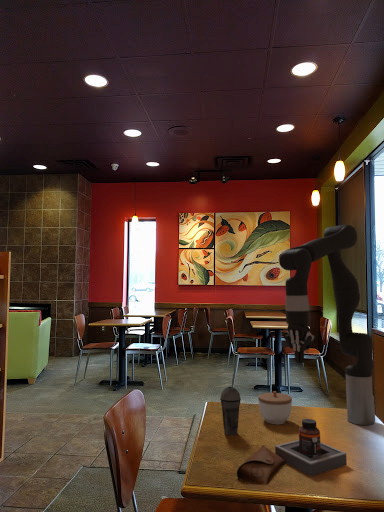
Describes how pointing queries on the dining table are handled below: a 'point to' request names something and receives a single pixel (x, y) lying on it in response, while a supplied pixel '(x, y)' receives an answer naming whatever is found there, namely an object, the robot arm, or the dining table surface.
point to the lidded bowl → (275, 407)
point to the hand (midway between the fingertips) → (299, 362)
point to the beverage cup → (230, 409)
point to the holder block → (311, 466)
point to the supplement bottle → (309, 439)
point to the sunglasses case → (260, 466)
